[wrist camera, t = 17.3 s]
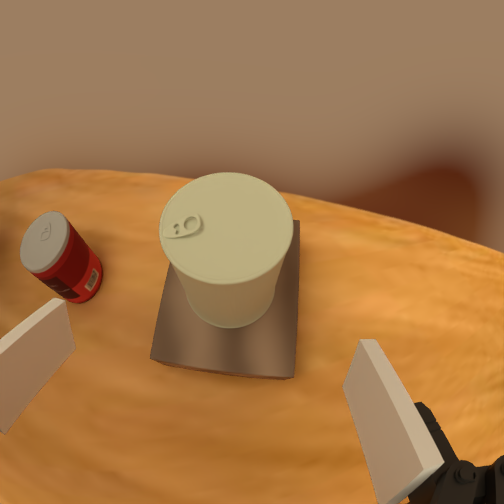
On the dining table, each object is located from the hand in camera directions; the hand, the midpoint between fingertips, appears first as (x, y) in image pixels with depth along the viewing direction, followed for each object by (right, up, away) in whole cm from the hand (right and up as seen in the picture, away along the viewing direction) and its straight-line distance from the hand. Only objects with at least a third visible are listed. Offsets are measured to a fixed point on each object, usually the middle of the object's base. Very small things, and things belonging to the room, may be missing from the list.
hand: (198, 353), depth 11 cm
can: (0, +1, +18) cm, 18 cm away
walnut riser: (0, -2, +23) cm, 23 cm away
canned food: (-22, 0, +23) cm, 32 cm away
